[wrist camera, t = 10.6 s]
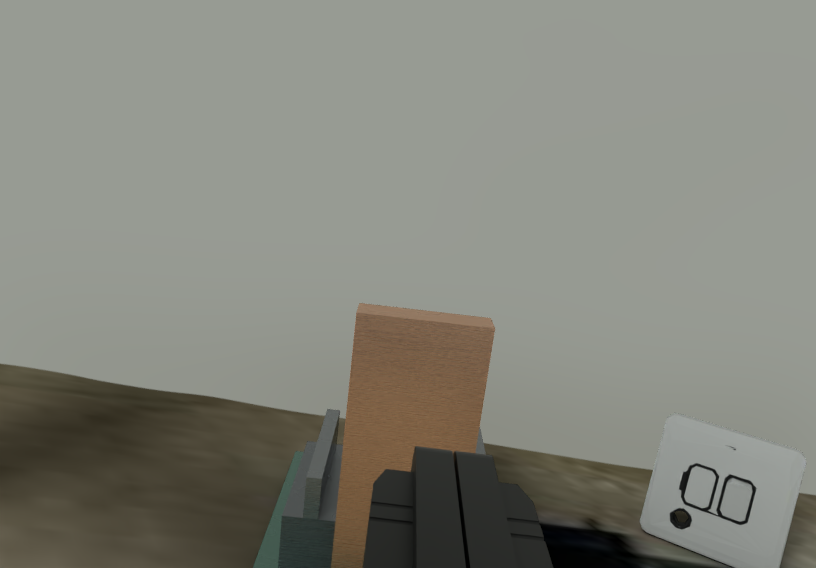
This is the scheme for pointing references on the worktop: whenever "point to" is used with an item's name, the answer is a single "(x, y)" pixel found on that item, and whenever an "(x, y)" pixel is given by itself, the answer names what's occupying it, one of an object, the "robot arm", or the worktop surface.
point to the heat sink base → (309, 505)
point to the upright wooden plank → (405, 403)
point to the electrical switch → (723, 492)
